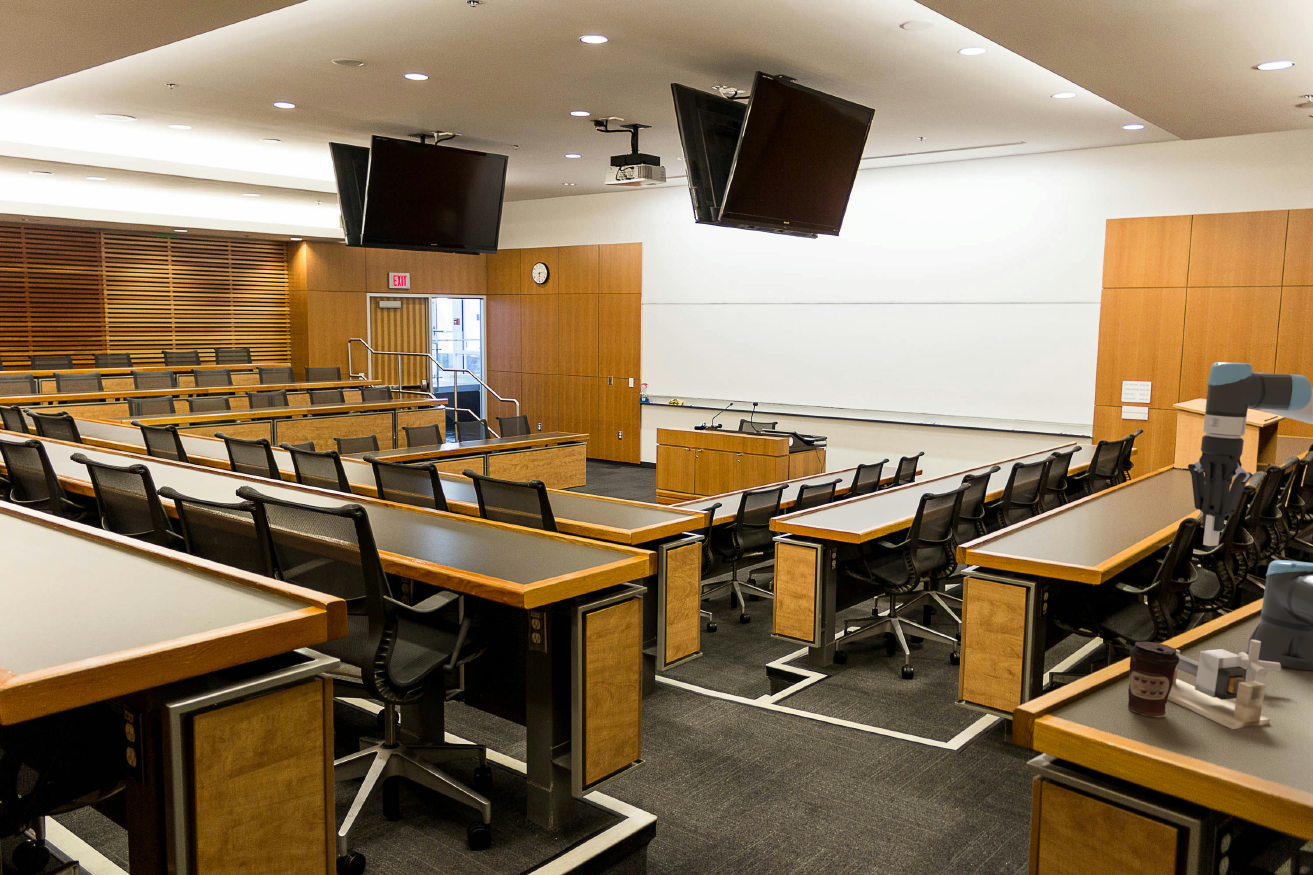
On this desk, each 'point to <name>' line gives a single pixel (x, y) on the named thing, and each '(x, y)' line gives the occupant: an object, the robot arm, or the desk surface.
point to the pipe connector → (1256, 662)
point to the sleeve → (1213, 668)
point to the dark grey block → (1223, 681)
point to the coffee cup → (1151, 677)
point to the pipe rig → (1215, 708)
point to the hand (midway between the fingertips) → (1210, 544)
